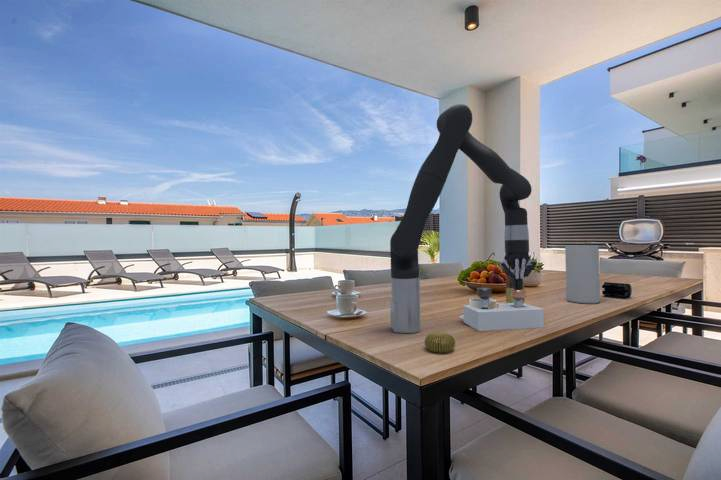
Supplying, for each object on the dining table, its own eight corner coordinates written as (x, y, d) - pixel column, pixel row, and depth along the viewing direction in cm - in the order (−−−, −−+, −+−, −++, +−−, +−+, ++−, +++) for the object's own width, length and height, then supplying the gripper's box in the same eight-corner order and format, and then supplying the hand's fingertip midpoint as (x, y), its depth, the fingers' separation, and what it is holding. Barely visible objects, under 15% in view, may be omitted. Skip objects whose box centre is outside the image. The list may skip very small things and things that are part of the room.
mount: (478, 331, 108) (478, 312, 108) (463, 322, 120) (463, 305, 120) (543, 327, 110) (543, 309, 110) (522, 319, 122) (521, 302, 122)
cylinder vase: (605, 301, 150) (603, 245, 150) (592, 305, 143) (591, 246, 143) (574, 298, 160) (573, 245, 160) (561, 301, 153) (559, 246, 153)
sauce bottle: (527, 317, 124) (525, 263, 124) (508, 317, 126) (507, 263, 126) (522, 313, 131) (520, 262, 131) (504, 313, 132) (503, 262, 132)
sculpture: (418, 334, 92) (438, 329, 97) (418, 349, 92) (438, 343, 97) (441, 341, 85) (461, 335, 90) (441, 357, 85) (461, 350, 90)
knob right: (515, 315, 113) (515, 290, 113) (508, 312, 118) (507, 288, 118) (528, 315, 114) (528, 290, 114) (520, 312, 118) (520, 288, 118)
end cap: (632, 297, 158) (631, 283, 158) (627, 299, 154) (626, 284, 154) (606, 295, 166) (606, 281, 166) (601, 297, 162) (600, 282, 162)
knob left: (481, 315, 112) (480, 289, 112) (475, 312, 116) (474, 287, 116) (494, 314, 112) (494, 289, 112) (487, 311, 117) (487, 287, 117)
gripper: (503, 239, 111) (505, 292, 111) (541, 238, 113) (543, 290, 113) (492, 239, 119) (493, 289, 119) (528, 238, 120) (529, 287, 120)
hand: (518, 289), depth 116 cm, fingers closed
